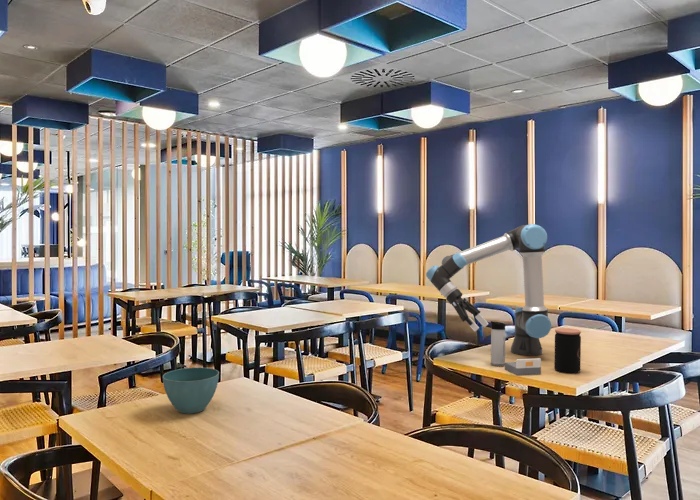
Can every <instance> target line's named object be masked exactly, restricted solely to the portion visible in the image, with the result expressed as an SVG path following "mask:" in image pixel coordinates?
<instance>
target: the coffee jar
mask: <svg viewBox="0 0 700 500" xmlns="http://www.w3.org/2000/svg"><path fill="white" fill-rule="evenodd" d="M554 331H555V332H554V333H555V334H554V362H553V363H554V366H553V367H554V369H555V371H556V372H557V373H558V372H559V373H561V374H568V375H571V374H572V375H574V374H575V375H576V374H578V373H580V371H581V353H582V351H581V350H582V349H581V348H582V346H581V345H582V337H581V333H582V331H581V330H580V329H577V328H568V327H566V328H565V327H561V328H560V327H559V328H555V329H554Z"/></svg>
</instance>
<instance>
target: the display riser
mask: <svg viewBox="0 0 700 500" xmlns="http://www.w3.org/2000/svg"><path fill="white" fill-rule="evenodd" d="M504 370H505V371H507V370H508V371H507V372H510V373H511V374H513V375H516V376H518V377H519V376H534V375H536V376H537V375H542V358H540V357H537V358H520V359H515V361H510V362H509V361H508V362H506V361H505V366H504Z"/></svg>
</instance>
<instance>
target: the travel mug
mask: <svg viewBox="0 0 700 500" xmlns="http://www.w3.org/2000/svg"><path fill="white" fill-rule="evenodd" d="M490 324H491V325H490V327H491V328H490V365H491V366H493V367H498V366H499V368H500V366H501V367H505V363H506V323H504V322H500V321H493V320H492V321H491V320H490Z"/></svg>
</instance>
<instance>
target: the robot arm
mask: <svg viewBox="0 0 700 500" xmlns="http://www.w3.org/2000/svg"><path fill="white" fill-rule="evenodd" d="M547 242H548V233H547V231H546V229H545V228H544V227H543V226H540V225H539V224H535V223H529V224H523V225H520V226H518V227H516V228H514V229H511V230H510V231H507V232H505V233H504V234H503V235H502V236H500V237H496V238H494V239H491V240H488V241H486V242H484V243H481V244H478V245H475V246H472V247H469V248H467V249H464V250H462V251H458V252H456V253H452V254H450V255H446V256H444V257H443V258H442V260H441V265H440V266H438V265H437V264H435V265H432V266H431V267H430V268H429V269H428V270H427V272H426V273H425V276H426V278H427V279H428V280H429V282H430V283H431V284H432V286H434V287H435V288H436V290H437V291H439V293H440V295H441V296H443V298H445V299H446V301H447V302H448V303H449V304H450V305H452V307H453V308H454V310H455V311H456V314H457V315H458V316H459V318H460V319H461V321H462V322H466V324H467V325H468V326H469V327H470V328H471V329H472V330H473V332H474V333H475V332H477V331H478V330H479V329H480V327H479V326H478V324H476V322H475V321H474V320H473V319H472V318H471V317H470V316H469V315H468V313H467V312H469V313H470V314H471V315H473V316H474V318H475V319H476V320H477V321H478V322H479V323H480V325H481V326H482V327H483V328H486V327H487V326H488V325H489V323H488V321H487V320H486V319H485V318H484V317H483V315H482V314H481V311H480V310H479V309H478V308H477V307H475V306H474V304H472V303H471V302H470V301H468V299H466V298H465V297H463V292H462V291H460V289H459V288H458V287H457V286H456V284H455V283H454V282H453V281H451V279H452V278H453V277H454V276H455V275H456V274H457V273H459V272H460V271H461V270H462V269H464V268H465V267H466V266H469V265H471V264H474V263H476V262H479V261H483V260H485V259H487V258H491V257H493V256H496V255H499V254H501V253H504V252H507V251H512V252H513V251H515V250H518V251H519V254H520V256H522V262H523V265H522V266H523V284H524V285H523V286H524V304H525V305H524V306H523V307H520V306H519V307H516V308H515V310H514V338H513V340H512V343H511V347H510V352H511V353H513V354H515V355H520V356H521V355H522V356H541V355H543V347H542V344H541V341H540V339H541V338H544V337H546V336H548V335H549V333H550V331H551V329H552V321H551V320H550V318H549V313H548V311H549V310H548V308H547V306H545V301H544V300H545V299H544V298H545V297H544V277H543V257H542V256H543V255H544V254H545V253H546V247H545V245H546V243H547ZM462 297H463V298H462Z"/></svg>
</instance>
